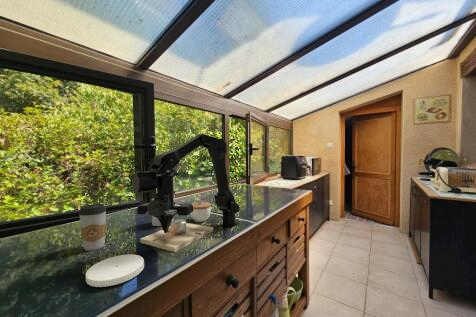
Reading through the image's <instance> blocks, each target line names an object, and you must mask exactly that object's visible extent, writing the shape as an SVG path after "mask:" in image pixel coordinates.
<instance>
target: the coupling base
mask: <svg viewBox="0 0 476 317" xmlns="http://www.w3.org/2000/svg"><path fill="white" fill-rule="evenodd" d="M170 228H171V225H170V226H169V229H170ZM169 229H168V230H169ZM213 232H214V227H213V226H207V225H201V224H194V223H189V222H186V233H184V234H180V235H174V236H173V237H172V238H166V233H164V231H163V229H161V230H158V231H156V232H153V233H150V234H149V235H146V236H144V237H140V238H139V243H140V244H142V245H143V244H144V245H148V246H152V247H154V248H158V249H163V250H166V251H170V252H173V253H177V252H178V251H180V250H181V249H183V248H185V247H187V246H189V245H190V244H192V243H195V242H196V241H199V240H200V239H201V238H203V237H205V236H207V235H209V234H210V233H213Z"/></svg>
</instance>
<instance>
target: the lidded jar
mask: <svg viewBox="0 0 476 317" xmlns="http://www.w3.org/2000/svg"><path fill="white" fill-rule="evenodd" d="M191 204H192V205H193V212H192V213H190V214H189V215H190V218H191V219H192V220H194V222H197V223H202V222H206V221H207V219H208V218H209V217H210V214H211V210H212V204H211V203H210V202H206V201H201V200H199V201H198V202H194V203H193V202H192V203H191Z"/></svg>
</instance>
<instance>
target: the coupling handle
mask: <svg viewBox="0 0 476 317" xmlns="http://www.w3.org/2000/svg"><path fill="white" fill-rule="evenodd" d="M186 223H187V220H186V219H180V218H178V219H175V220H174V219H173V221H171V224H170V226H171V228H170V229H169V230H168V231H167V232H166V238H172V237H173V236H174V235H180V234H184V233H186Z"/></svg>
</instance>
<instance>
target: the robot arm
mask: <svg viewBox="0 0 476 317" xmlns="http://www.w3.org/2000/svg"><path fill="white" fill-rule="evenodd" d="M200 147H202V148H205V149H207V152H208V155H209V156H210V158H211V159H212V162H213V167H214V173H215V179H216V186H217V193H216V194H215V195H214V200H215V202H214V203H215V205H216V206H217V207H218V210H219V211H221V212H222V222H221V223H220V224H219V225H220V226H221V227H226V228H233V227H235V226H236V225H239V221H237V220H236V215H237V214H238V213H239V212H240V210H241V207H240V206H239V204H238V203H237V202H236V200H235V196H234V194H233V193H232V191H231V190H230V187H229V181H228V175H227V167H226V161H225V157H226V154H227V142H226V140H225V139H223V138H218V137H214V136H211V135H208V134H205V133H200V134H199V133H198V134H196V135H195V136H194V137H191V138H190V139H189V140H187V141H186V142H184V143H182V144H181V145H179V146H177V147H176V148H173V149H170V150H167V151H165V152H161V153H159V154H157V155H155V156H154V158H153V162H152V164H151V165H150V167H149V169H148V170H147V171H134V175H133V178H132V181H131V187H132V190H133V193H135V194H141V193H145V192H147V193H148V192H153V191H155V190H156V192H155V193H154V198H153V199H154V200H152V199H151V201H150V202H145V203H141V204H139V205H138V206H137V208H136V214H137V215H146V214H147V213H148V216H151V217H152V215H153V217H156V218H157V219H158V220H159V221H160V223H161V226H160V227H162V230H163V231H164V233H166V232H167V231H168V229H169V227H170V226H171V221H172V219H173V220H174V217H175V216H176V215H178V216H184V217H186V216H189V215H190V213H192V212H193V205H192V204H193V203H181V204H179V205H177V206H176V201H174V200H175V198H174V197H175V194H176V190H174V184H175V183H174V182H175V181H174V177H176V176H177V177H178V176H179V175H180V173H178V172H177V171H176V169H175V168H176V167H177V166H178V165H179V163H180V162H181V160H182V159H183V158H185V157H186V156H187V155H189V154H191V153H192V152H194V151H195V150H196V149H198V148H200Z"/></svg>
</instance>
